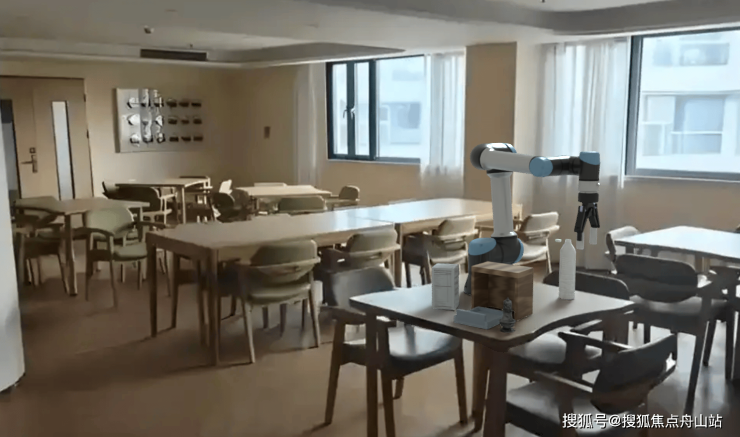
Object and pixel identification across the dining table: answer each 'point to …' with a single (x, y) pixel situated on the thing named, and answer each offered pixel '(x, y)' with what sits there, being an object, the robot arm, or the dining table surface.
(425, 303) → the dining table surface
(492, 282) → the wooden crate
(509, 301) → the dark grey figurine
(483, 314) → the tray
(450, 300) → the supplement box
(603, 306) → the dining table surface
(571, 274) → the water bottle
